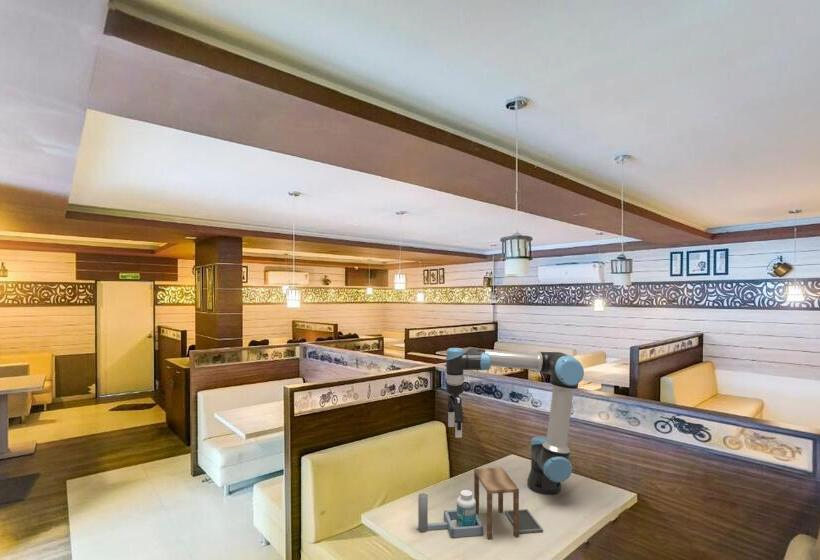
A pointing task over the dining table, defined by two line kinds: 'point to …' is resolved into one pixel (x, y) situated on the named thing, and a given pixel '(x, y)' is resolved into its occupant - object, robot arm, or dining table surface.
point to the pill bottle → (466, 509)
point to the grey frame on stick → (448, 515)
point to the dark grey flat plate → (525, 522)
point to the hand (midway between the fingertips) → (454, 431)
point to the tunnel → (493, 484)
